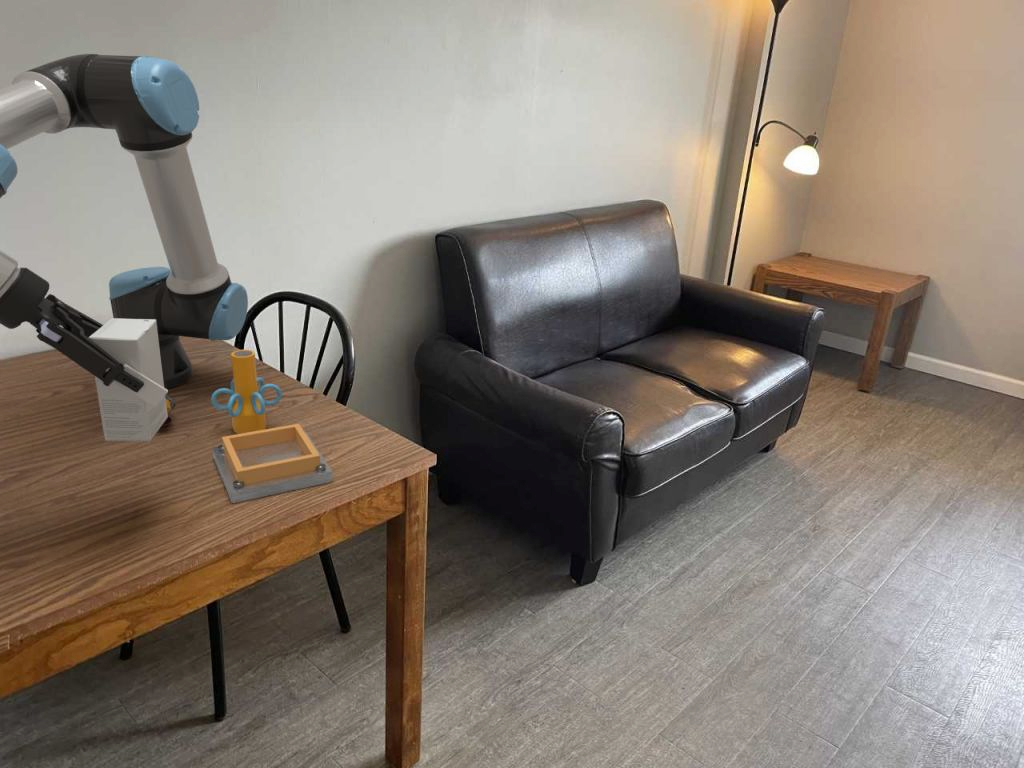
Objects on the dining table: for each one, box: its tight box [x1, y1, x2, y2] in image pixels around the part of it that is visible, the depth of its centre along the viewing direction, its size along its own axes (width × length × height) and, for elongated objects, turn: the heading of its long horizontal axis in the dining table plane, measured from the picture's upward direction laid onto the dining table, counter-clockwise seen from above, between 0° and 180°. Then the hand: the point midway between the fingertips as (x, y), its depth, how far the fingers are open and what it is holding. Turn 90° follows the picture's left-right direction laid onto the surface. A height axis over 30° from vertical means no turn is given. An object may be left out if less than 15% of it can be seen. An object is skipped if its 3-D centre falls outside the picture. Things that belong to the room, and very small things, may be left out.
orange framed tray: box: [212, 430, 334, 504], centre depth 126 cm, size 16×16×3 cm
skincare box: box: [89, 317, 168, 442], centre depth 106 cm, size 8×7×16 cm
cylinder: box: [210, 349, 283, 434], centre depth 138 cm, size 12×10×15 cm
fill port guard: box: [221, 423, 321, 485], centre depth 126 cm, size 13×13×2 cm
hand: (156, 384), depth 108 cm, fingers closed on skincare box, 10 cm apart
